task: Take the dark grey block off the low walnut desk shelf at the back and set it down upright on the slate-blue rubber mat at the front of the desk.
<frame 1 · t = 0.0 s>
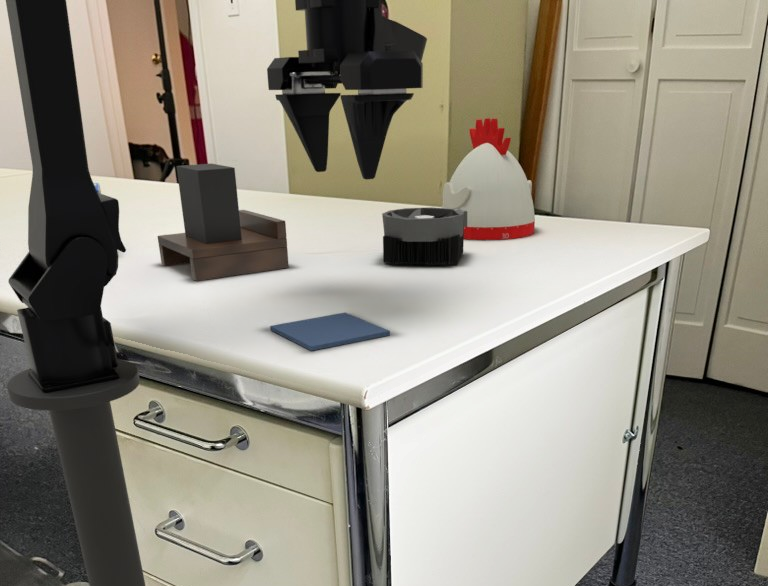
hand: (343, 175, 77), 12 cm above the table, tool pointing down, fingers open, 9 cm apart
kitchen timer: (486, 232, 119), on the table
rubber mat: (329, 332, 73), on the table
desk shelf: (224, 266, 100), on the table
dark grey block: (213, 237, 98), point 3 cm above the table, touching desk shelf
cpu cooler: (424, 260, 102), on the table
medicine box: (94, 255, 109), on the table
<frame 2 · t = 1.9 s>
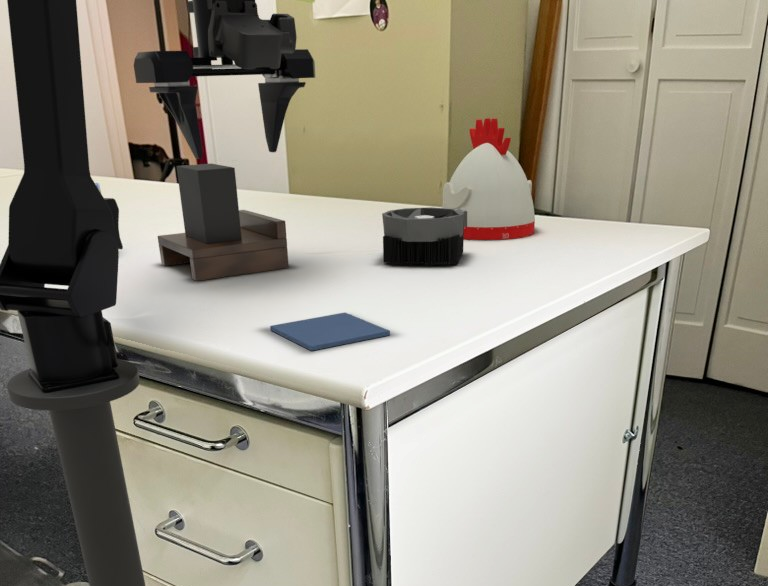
hand: (236, 155, 89), 13 cm above the table, tool pointing down, fingers open, 9 cm apart
nothing on the table moved.
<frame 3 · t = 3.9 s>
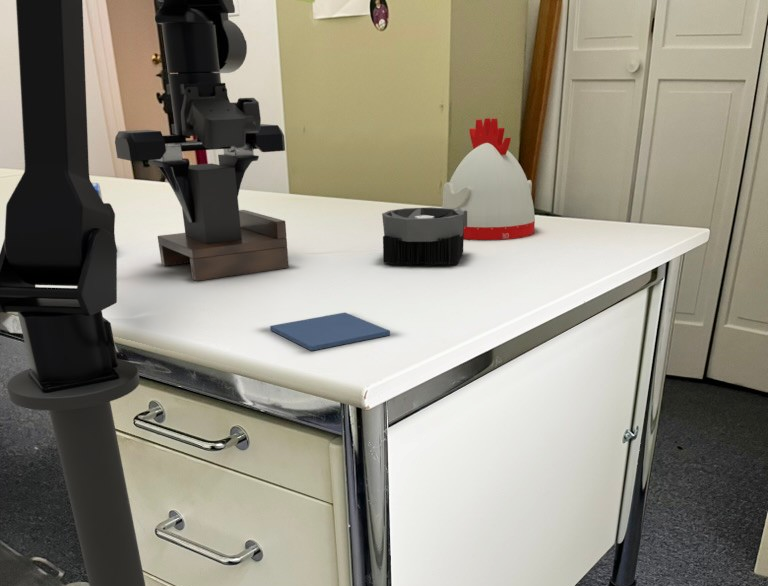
hand: (211, 220, 97), 6 cm above the table, tool pointing down, fingers closed on dark grey block, 4 cm apart
dark grey block: (213, 237, 98), point 3 cm above the table, touching desk shelf, gripper
everything else where it was.
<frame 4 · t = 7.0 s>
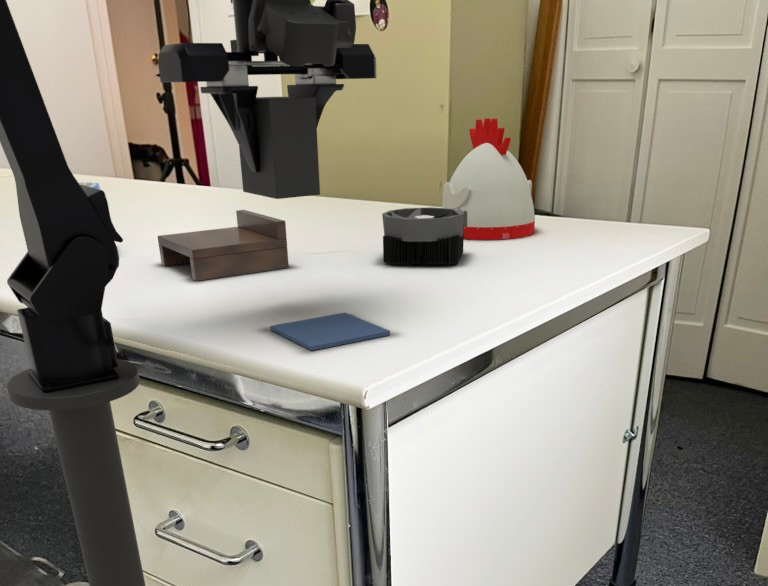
hand: (279, 170, 75), 13 cm above the table, tool pointing down, fingers closed on dark grey block, 4 cm apart
dark grey block: (280, 193, 76), point 11 cm above the table, touching gripper
everything else where it was.
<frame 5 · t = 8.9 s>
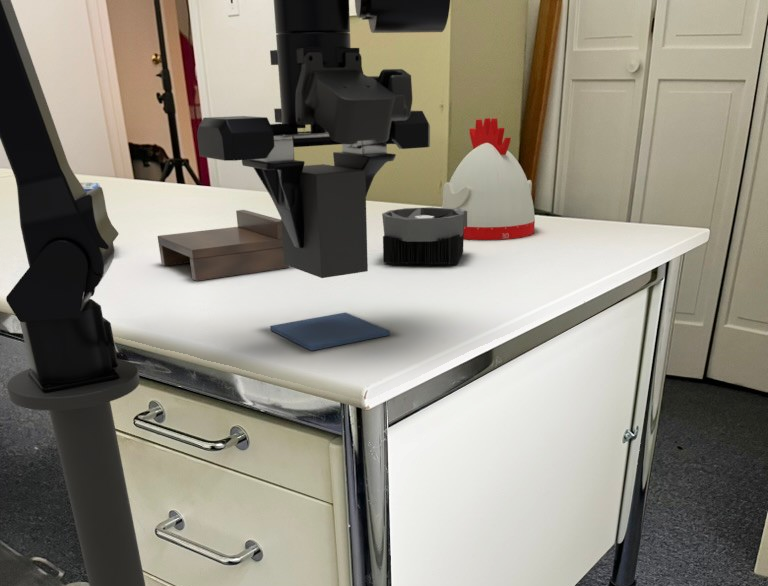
hand: (323, 244, 69), 8 cm above the table, tool pointing down, fingers closed on dark grey block, 4 cm apart
dark grey block: (325, 267, 70), point 6 cm above the table, touching gripper
everything else where it was.
when the fingers open (2 cm above the table, at t = 10.5 s): dark grey block stays where it is, resting on rubber mat.
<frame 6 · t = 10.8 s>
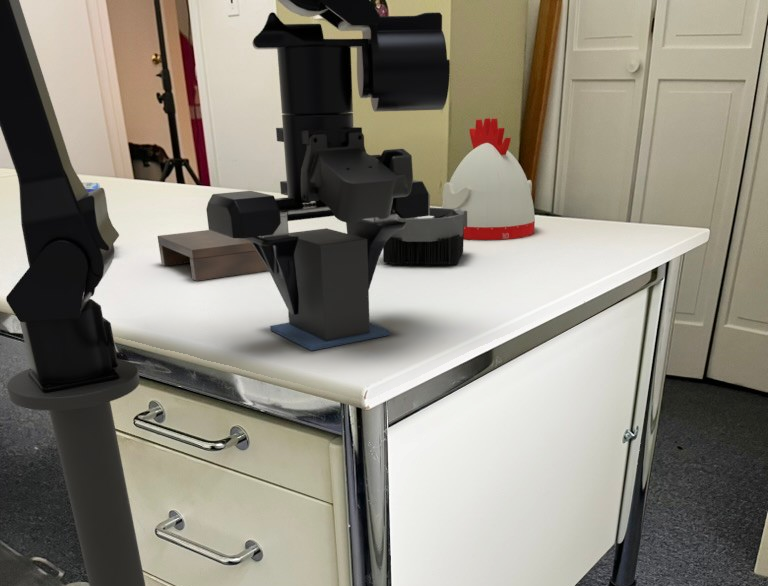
hand: (327, 308, 72), 2 cm above the table, tool pointing down, fingers open, 6 cm apart
dark grey block: (328, 328, 73), resting on rubber mat
everything else where it was.
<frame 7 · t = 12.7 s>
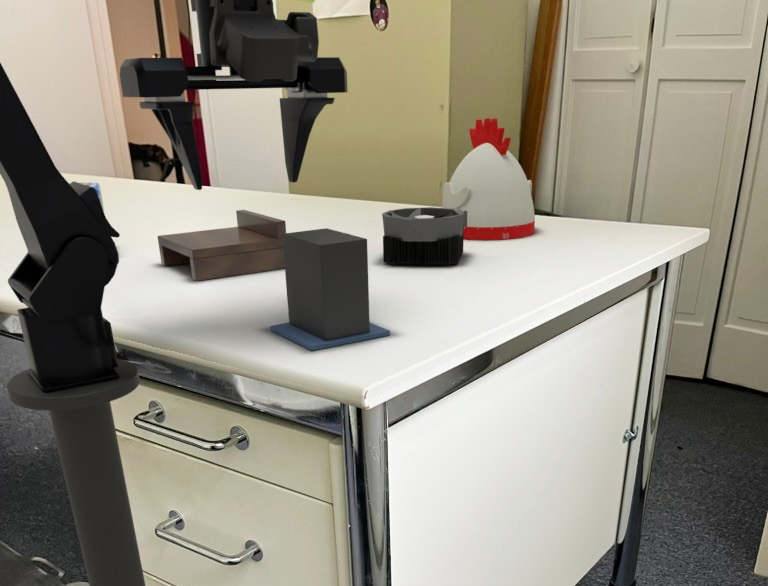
hand: (247, 185, 73), 12 cm above the table, tool pointing down, fingers open, 9 cm apart
nothing on the table moved.
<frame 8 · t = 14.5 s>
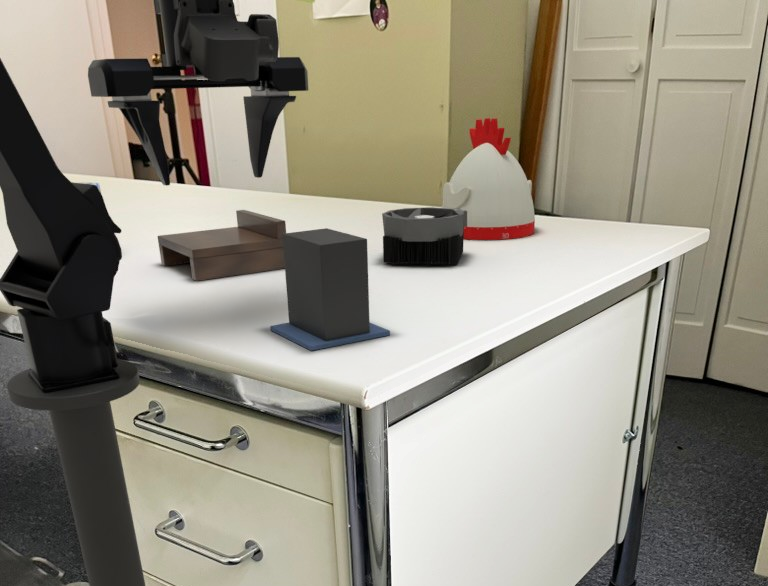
hand: (213, 181, 76), 12 cm above the table, tool pointing down, fingers open, 9 cm apart
nothing on the table moved.
at the end: dark grey block inside the target area on the rubber mat (0.0 cm from its centre), point 0.4 cm above the rubber mat's base; dark grey block tilted 0°; the gripper is holding nothing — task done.
